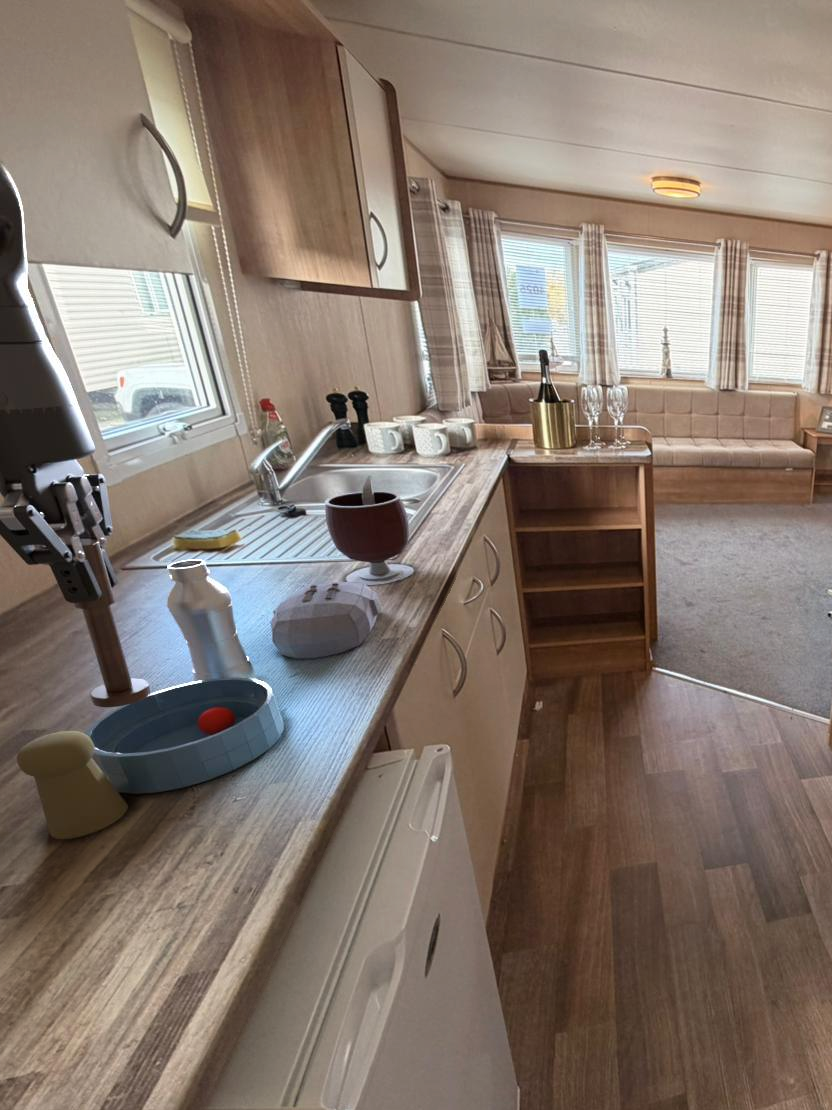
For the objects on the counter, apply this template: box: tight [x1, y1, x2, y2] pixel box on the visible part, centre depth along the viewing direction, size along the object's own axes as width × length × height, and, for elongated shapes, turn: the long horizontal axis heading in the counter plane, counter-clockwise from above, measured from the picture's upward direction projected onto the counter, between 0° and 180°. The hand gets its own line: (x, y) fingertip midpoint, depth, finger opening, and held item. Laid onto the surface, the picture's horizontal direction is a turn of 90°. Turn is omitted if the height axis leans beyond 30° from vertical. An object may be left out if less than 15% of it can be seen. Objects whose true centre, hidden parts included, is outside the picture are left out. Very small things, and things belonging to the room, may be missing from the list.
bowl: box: [84, 677, 285, 795], centre depth 79 cm, size 17×17×6 cm
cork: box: [16, 730, 129, 840], centre depth 67 cm, size 6×6×11 cm
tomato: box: [198, 707, 235, 735], centre depth 82 cm, size 4×4×4 cm
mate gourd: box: [324, 475, 415, 586], centre depth 132 cm, size 16×14×20 cm
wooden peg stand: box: [62, 539, 151, 708], centre depth 60 cm, size 4×4×16 cm
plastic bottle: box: [166, 559, 257, 682], centre depth 89 cm, size 6×7×20 cm
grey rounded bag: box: [269, 581, 381, 660], centre depth 109 cm, size 15×8×20 cm
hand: (93, 593), depth 59 cm, fingers closed on wooden peg stand, 2 cm apart
